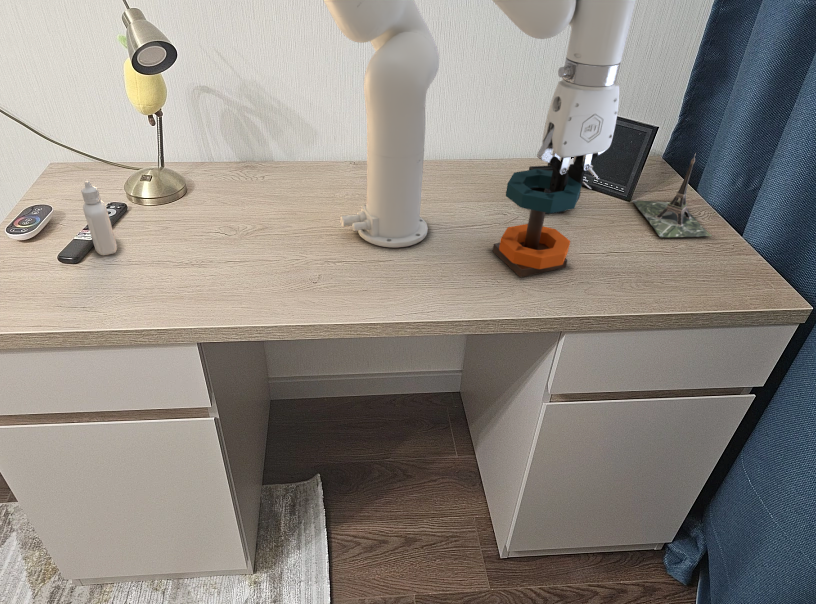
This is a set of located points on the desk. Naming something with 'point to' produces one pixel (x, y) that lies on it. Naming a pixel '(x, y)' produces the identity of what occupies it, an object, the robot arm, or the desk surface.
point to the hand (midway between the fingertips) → (564, 191)
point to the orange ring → (532, 256)
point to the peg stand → (529, 246)
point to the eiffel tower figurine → (672, 214)
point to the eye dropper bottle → (98, 221)
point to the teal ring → (538, 200)
